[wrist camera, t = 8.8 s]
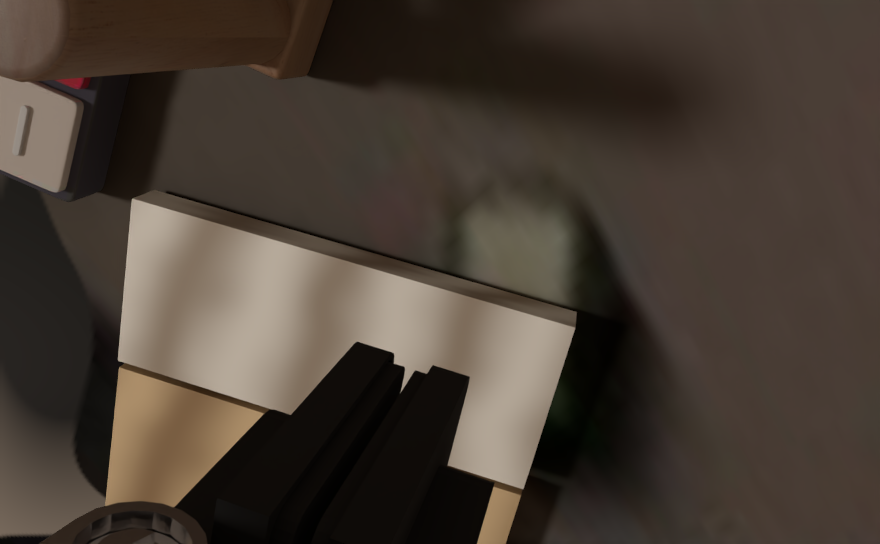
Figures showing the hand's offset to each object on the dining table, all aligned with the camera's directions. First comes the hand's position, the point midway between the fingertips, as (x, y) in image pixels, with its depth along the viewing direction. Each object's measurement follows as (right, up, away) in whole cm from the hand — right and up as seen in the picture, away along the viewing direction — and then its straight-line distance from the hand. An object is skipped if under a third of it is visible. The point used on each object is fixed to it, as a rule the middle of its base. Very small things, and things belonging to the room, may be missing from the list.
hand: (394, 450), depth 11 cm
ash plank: (-4, 0, +28) cm, 29 cm away
